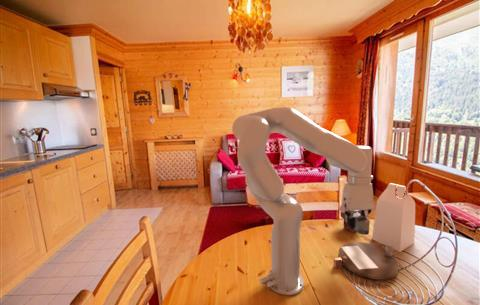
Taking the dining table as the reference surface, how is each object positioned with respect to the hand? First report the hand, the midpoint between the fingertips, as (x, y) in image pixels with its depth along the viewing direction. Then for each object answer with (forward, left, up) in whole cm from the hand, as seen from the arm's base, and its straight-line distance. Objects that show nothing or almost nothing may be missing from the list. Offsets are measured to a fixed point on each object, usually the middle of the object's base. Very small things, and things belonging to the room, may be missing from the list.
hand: (356, 225), depth 92 cm
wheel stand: (-2, -2, -15) cm, 15 cm away
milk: (+27, +2, -15) cm, 31 cm away
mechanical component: (+20, +18, -15) cm, 31 cm away
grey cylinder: (0, 0, 0) cm, 0 cm away
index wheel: (+3, -3, -14) cm, 15 cm away
